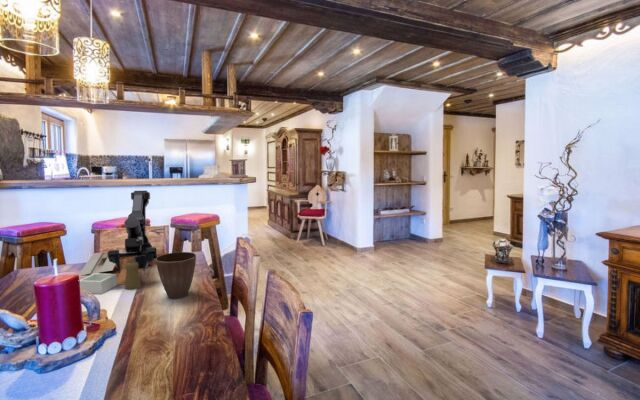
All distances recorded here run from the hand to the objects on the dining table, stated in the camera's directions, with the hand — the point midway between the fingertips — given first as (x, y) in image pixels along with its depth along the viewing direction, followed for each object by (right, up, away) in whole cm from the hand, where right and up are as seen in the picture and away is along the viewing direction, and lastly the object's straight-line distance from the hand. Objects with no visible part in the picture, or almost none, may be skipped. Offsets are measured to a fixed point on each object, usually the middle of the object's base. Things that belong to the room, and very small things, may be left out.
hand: (131, 271), depth 146 cm
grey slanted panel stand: (-27, -5, +23) cm, 36 cm away
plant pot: (+22, -8, -7) cm, 25 cm away
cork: (0, -7, +2) cm, 7 cm away
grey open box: (-14, -7, -1) cm, 15 cm away
